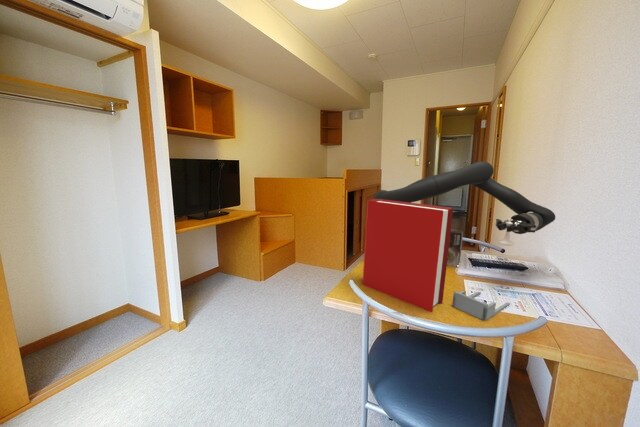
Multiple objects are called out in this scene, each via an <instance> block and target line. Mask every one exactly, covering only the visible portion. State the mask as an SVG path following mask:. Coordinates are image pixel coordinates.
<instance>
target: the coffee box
mask: <svg viewBox="0 0 640 427" xmlns="http://www.w3.org/2000/svg"><path fill="white" fill-rule="evenodd" d="M463 236H464V230H463V229H462V230H461V229H453V228H451V233H450V242H449V250H448V259H447V266H448V267H454V268H457V267H456V266H457V265H459V263H460V264H461V255H462V246H463ZM459 266H460V265H459Z"/></svg>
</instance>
